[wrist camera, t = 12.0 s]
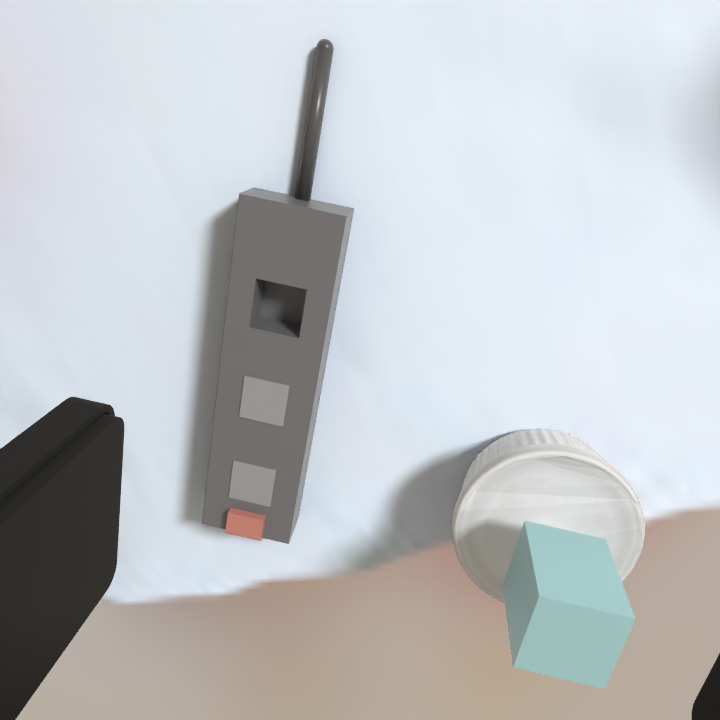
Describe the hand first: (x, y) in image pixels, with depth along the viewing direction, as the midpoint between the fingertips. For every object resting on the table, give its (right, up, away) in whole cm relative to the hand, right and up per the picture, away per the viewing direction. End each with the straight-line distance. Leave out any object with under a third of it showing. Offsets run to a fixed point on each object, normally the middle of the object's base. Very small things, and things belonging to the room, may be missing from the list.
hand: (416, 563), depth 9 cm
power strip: (-5, +6, +31) cm, 32 cm away
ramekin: (+11, -6, +34) cm, 36 cm away
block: (+10, -8, +29) cm, 31 cm away
